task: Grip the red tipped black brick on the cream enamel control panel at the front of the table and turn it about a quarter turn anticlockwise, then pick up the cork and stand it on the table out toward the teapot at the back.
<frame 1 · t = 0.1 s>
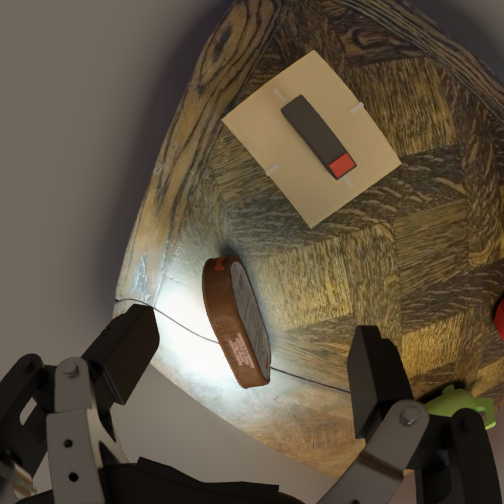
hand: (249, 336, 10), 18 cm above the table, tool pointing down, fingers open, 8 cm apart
tin: (249, 302, 31), on the table
teapot: (435, 404, 35), on the table
red tipped black brick: (317, 137, 18), point 5 cm above the table, hinge at 0.0°
panel: (312, 137, 23), on the table
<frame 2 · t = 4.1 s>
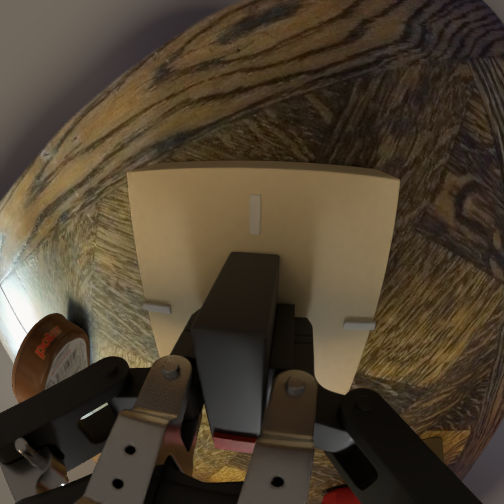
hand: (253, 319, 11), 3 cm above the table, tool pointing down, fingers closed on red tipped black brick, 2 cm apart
apple: (346, 488, 26), on the table
tin: (83, 358, 20), on the table
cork: (417, 449, 20), on the table
red tipped black brick: (244, 359, 9), point 5 cm above the table, hinge at 0.0°, touching gripper
panel: (262, 283, 14), on the table
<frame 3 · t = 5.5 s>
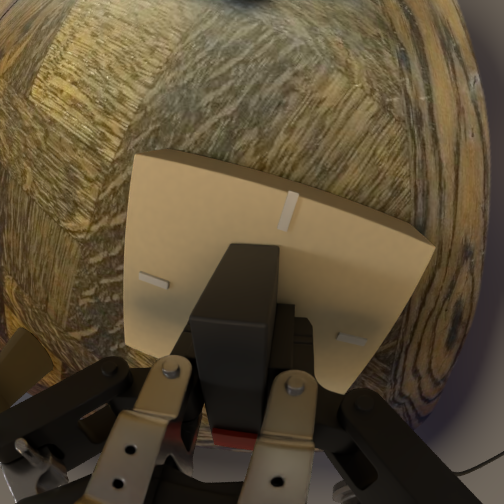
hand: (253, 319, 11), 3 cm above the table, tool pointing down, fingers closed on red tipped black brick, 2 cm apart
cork: (35, 348, 22), on the table
red tipped black brick: (244, 352, 9), point 5 cm above the table, hinge at 104.8°, touching gripper
panel: (262, 277, 14), on the table
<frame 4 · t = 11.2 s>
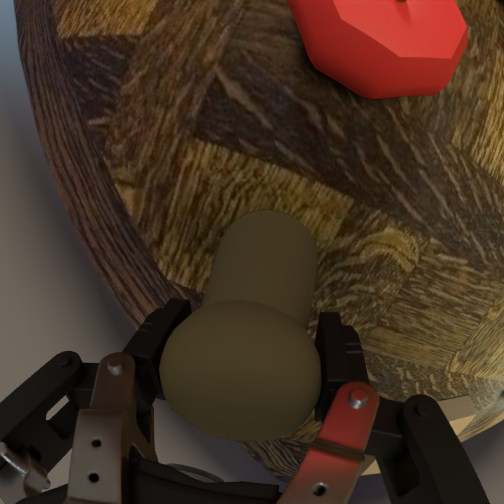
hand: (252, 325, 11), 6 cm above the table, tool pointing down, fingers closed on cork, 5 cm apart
apple: (360, 46, 11), on the table
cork: (268, 257, 17), on the table, touching gripper
panel: (412, 430, 23), on the table
when the fingers open (6 cm above the table, at t = 17.6 s): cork stays where it is, on the table.
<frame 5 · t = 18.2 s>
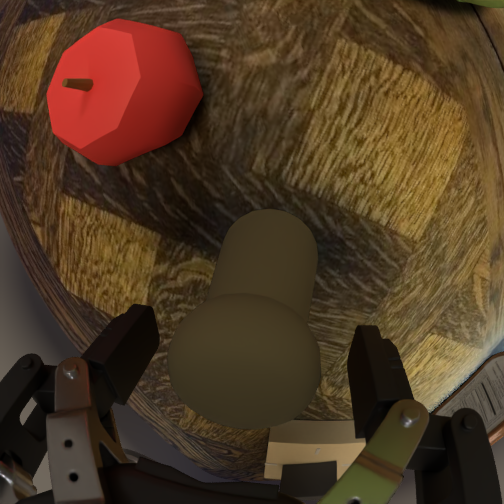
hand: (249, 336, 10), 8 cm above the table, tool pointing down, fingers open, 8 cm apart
apple: (157, 97, 14), on the table
tin: (464, 385, 20), on the table
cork: (269, 254, 17), on the table
red tipped black brick: (309, 482, 21), point 5 cm above the table, hinge at 104.9°
panel: (311, 444, 26), on the table
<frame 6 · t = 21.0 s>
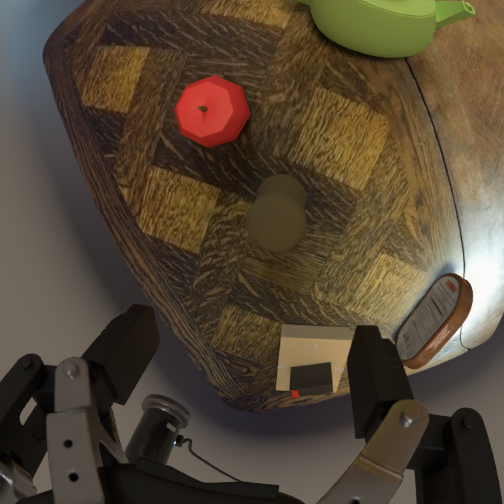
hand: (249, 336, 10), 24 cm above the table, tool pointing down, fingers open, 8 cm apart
apple: (222, 114, 29), on the table
tin: (421, 304, 35), on the table
teapot: (364, 18, 21), on the table
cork: (281, 198, 32), on the table
red tipped black brick: (311, 380, 36), point 5 cm above the table, hinge at 104.9°
panel: (311, 354, 41), on the table
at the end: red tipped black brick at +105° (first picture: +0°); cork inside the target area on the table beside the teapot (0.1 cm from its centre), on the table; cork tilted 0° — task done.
